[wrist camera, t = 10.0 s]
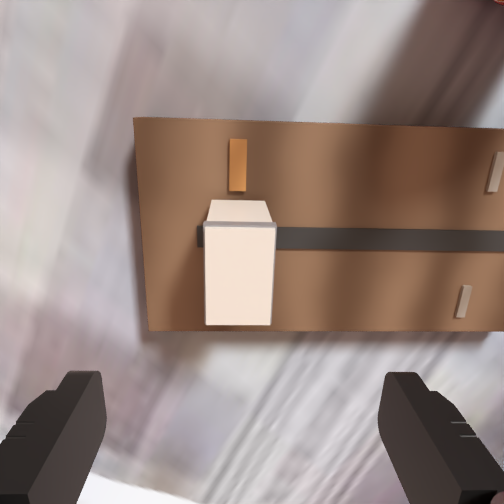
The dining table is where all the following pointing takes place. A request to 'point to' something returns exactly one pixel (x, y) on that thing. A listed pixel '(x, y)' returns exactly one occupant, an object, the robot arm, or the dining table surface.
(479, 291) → the brown flat wooden board
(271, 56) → the dining table surface
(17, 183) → the dining table surface
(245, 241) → the fader tab
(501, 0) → the smoothie
